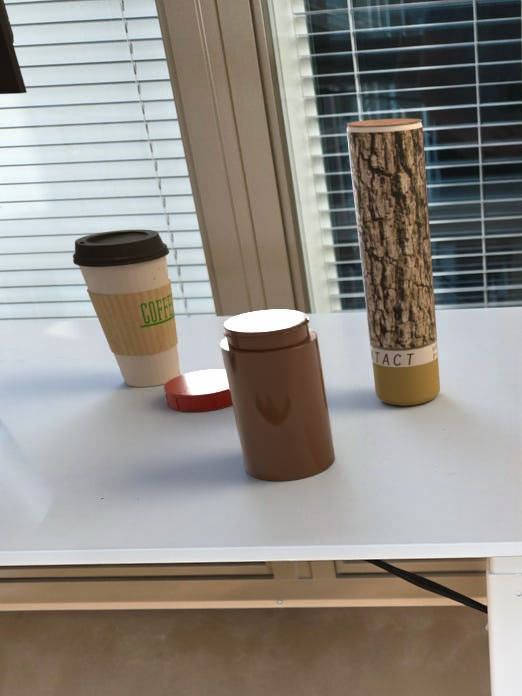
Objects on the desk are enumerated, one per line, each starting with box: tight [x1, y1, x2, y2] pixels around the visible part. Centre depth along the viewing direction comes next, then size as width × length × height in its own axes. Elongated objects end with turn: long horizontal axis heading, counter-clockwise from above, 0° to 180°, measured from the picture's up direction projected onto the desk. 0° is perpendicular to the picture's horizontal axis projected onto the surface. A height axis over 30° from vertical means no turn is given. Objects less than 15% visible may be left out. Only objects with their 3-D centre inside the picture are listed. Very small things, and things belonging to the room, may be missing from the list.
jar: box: [219, 309, 336, 482], centre depth 76 cm, size 8×8×12 cm
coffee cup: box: [72, 229, 181, 388], centre depth 98 cm, size 10×10×15 cm
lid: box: [163, 369, 233, 413], centre depth 95 cm, size 8×8×2 cm
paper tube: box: [346, 118, 441, 407], centre depth 86 cm, size 7×7×25 cm
